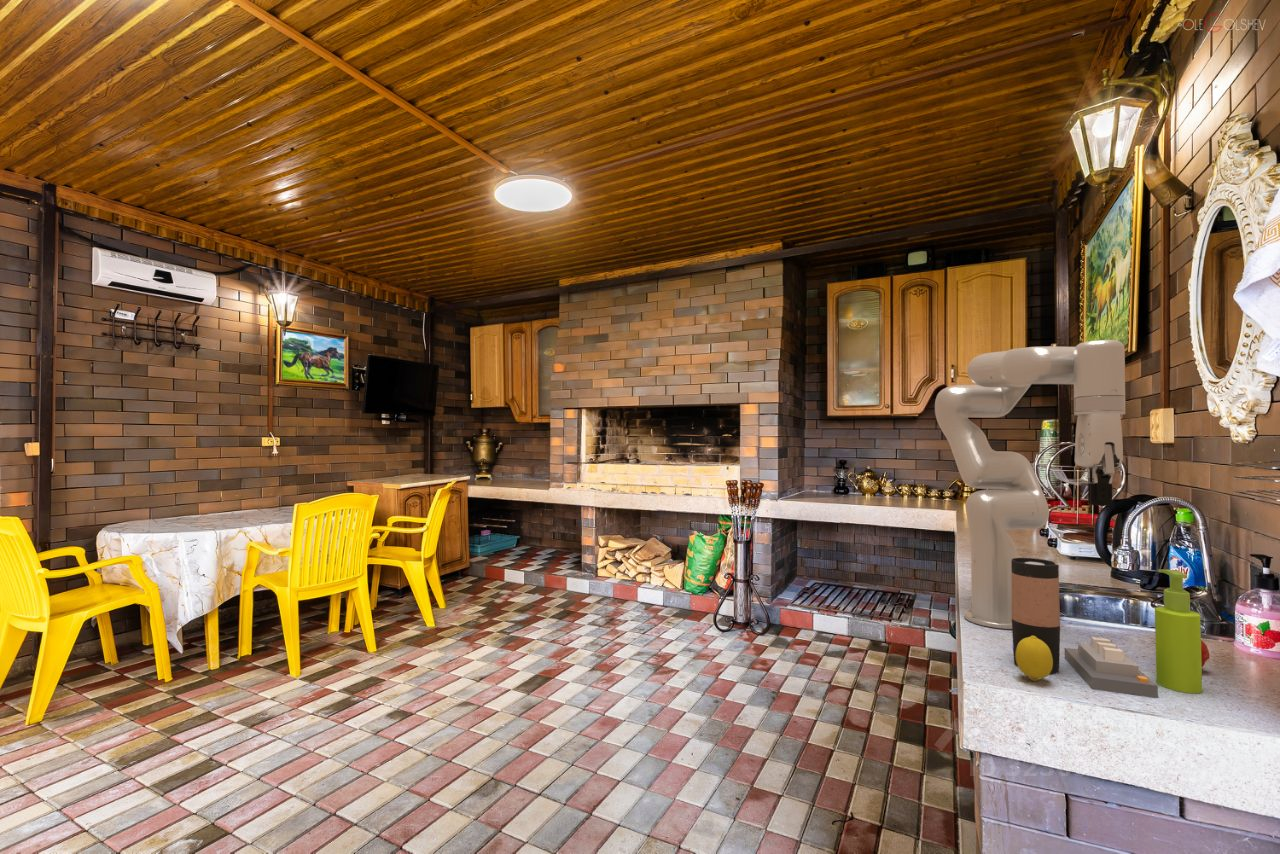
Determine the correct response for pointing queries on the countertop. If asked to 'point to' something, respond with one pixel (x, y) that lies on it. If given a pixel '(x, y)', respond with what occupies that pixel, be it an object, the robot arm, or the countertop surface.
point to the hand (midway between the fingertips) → (1100, 504)
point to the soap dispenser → (1178, 639)
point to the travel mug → (1036, 604)
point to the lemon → (1034, 658)
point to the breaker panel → (1110, 679)
